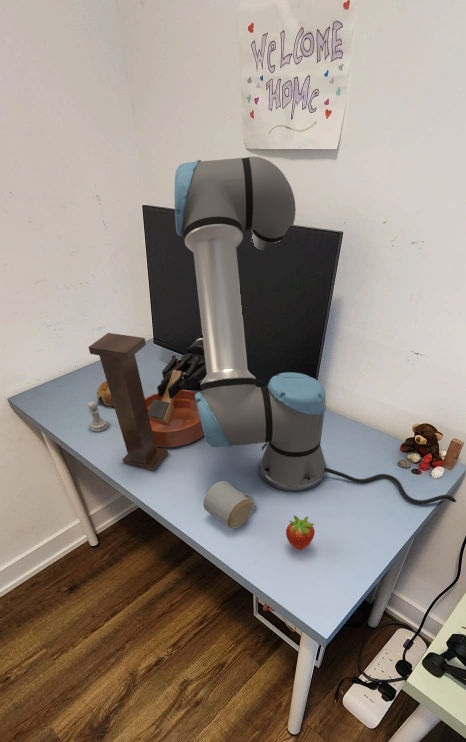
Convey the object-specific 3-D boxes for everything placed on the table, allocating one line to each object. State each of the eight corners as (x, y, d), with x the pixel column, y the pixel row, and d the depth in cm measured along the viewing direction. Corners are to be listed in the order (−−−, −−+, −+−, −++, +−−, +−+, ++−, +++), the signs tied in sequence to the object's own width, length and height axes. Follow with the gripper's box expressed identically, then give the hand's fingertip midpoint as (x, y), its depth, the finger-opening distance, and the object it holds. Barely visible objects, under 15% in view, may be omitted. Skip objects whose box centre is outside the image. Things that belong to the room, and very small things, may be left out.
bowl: (222, 413, 120) (220, 396, 116) (190, 455, 107) (187, 438, 103) (160, 401, 126) (157, 384, 122) (123, 440, 113) (118, 423, 109)
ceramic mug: (230, 536, 87) (229, 511, 82) (204, 517, 91) (200, 491, 86) (264, 510, 92) (265, 484, 87) (238, 492, 97) (237, 466, 91)
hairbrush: (188, 375, 112) (183, 367, 108) (169, 426, 109) (163, 419, 105) (171, 372, 113) (166, 364, 110) (152, 422, 110) (146, 415, 107)
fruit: (291, 560, 82) (293, 533, 77) (281, 540, 86) (283, 513, 80) (316, 552, 83) (320, 526, 78) (306, 534, 87) (309, 507, 81)
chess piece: (87, 430, 117) (78, 405, 112) (97, 421, 120) (88, 396, 115) (102, 433, 116) (93, 408, 110) (111, 423, 119) (103, 398, 113)
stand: (168, 454, 108) (144, 337, 86) (154, 471, 103) (126, 352, 82) (138, 447, 111) (108, 332, 89) (123, 463, 106) (88, 347, 85)
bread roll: (125, 417, 127) (131, 396, 122) (91, 406, 124) (95, 383, 119) (132, 400, 134) (137, 379, 129) (99, 388, 131) (104, 366, 126)
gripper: (229, 367, 123) (193, 410, 108) (182, 360, 128) (141, 400, 113) (227, 342, 118) (189, 384, 103) (178, 336, 122) (135, 374, 107)
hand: (164, 392), depth 108 cm, fingers closed on hairbrush, 2 cm apart
